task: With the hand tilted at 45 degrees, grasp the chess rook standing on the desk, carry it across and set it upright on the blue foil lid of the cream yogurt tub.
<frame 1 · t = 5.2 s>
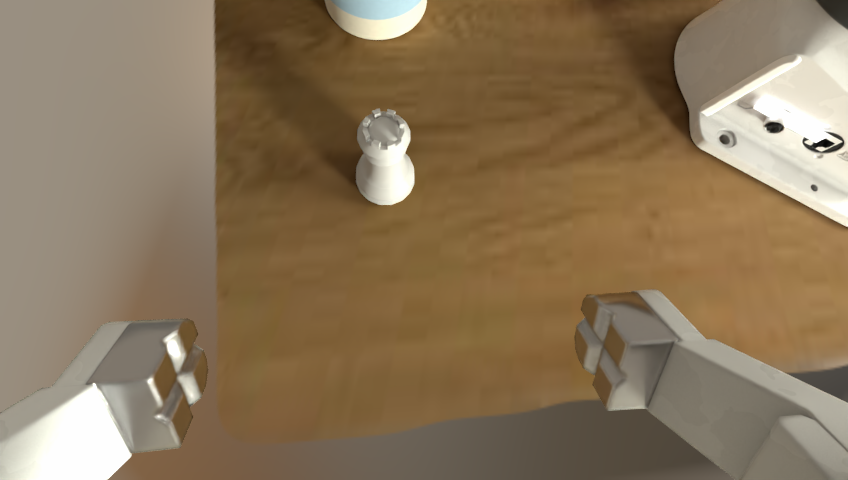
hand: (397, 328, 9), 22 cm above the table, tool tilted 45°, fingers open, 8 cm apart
rook chess piece: (385, 180, 33), on the table
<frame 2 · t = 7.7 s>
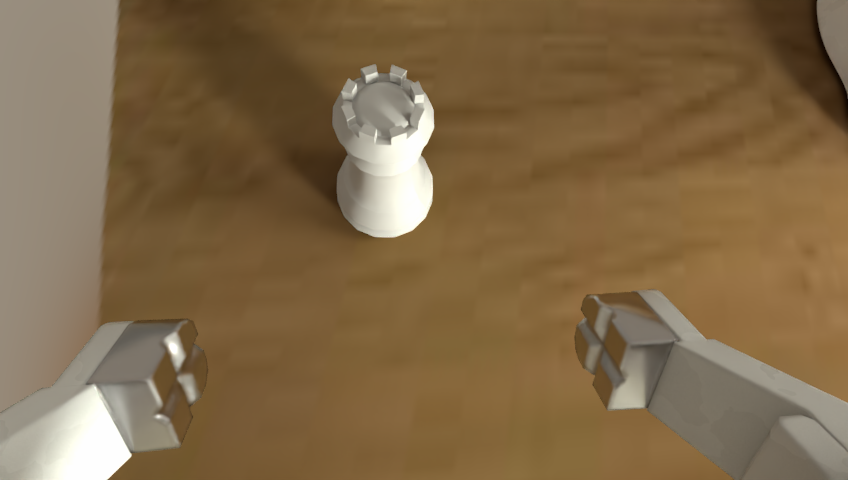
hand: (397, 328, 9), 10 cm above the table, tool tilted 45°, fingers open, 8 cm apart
rook chess piece: (385, 196, 21), on the table
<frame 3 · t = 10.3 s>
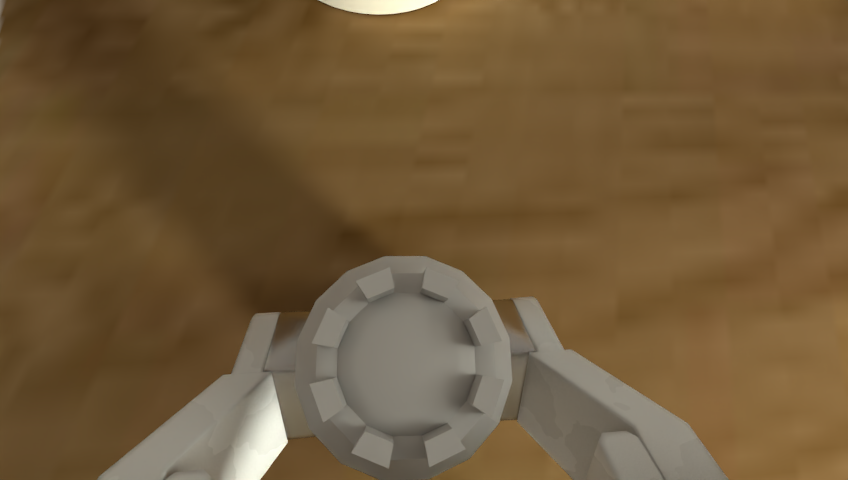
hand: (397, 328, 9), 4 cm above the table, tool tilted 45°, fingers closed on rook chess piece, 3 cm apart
rook chess piece: (396, 358, 13), on the table, touching gripper
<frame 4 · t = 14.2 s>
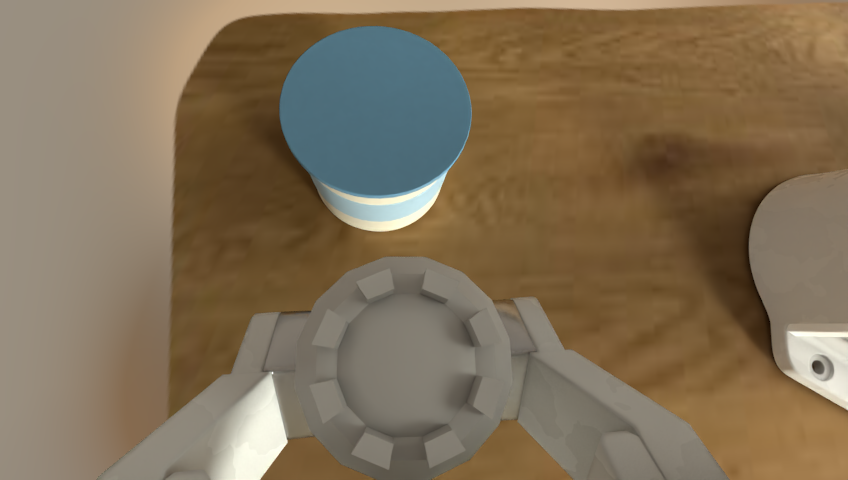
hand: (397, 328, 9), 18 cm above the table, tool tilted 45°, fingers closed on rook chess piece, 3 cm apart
rook chess piece: (396, 358, 13), point 14 cm above the table, touching gripper
yogurt tub: (379, 170, 30), on the table
when the fingers open (12 cm above the table, at t = 18.2 s): rook chess piece stays where it is, resting on yogurt tub.
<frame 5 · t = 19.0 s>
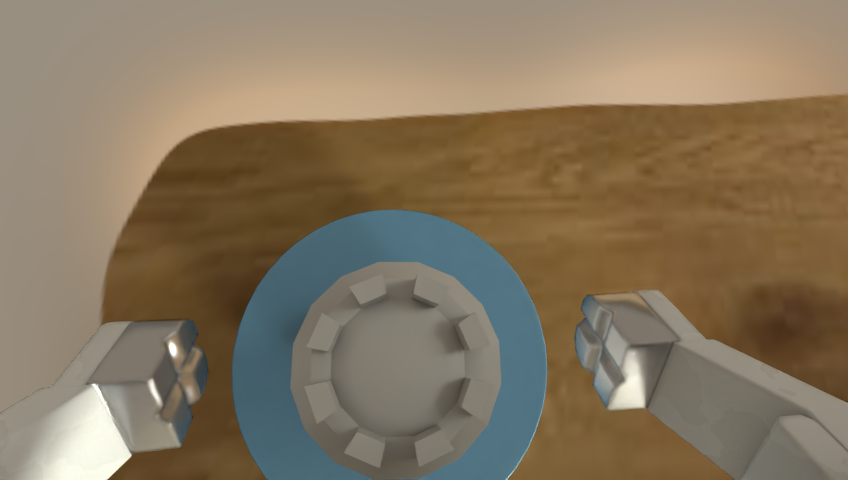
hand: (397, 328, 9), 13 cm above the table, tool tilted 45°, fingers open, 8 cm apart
rook chess piece: (392, 359, 14), point 8 cm above the table, touching yogurt tub
yogurt tub: (391, 356, 21), on the table, touching rook chess piece
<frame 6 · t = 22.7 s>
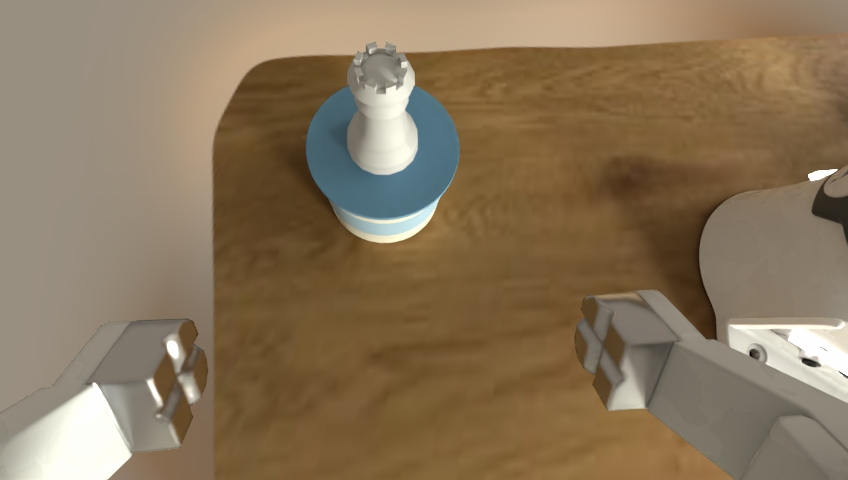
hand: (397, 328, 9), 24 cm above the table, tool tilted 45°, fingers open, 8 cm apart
rook chess piece: (382, 147, 28), point 8 cm above the table, touching yogurt tub
yogurt tub: (384, 191, 35), on the table, touching rook chess piece
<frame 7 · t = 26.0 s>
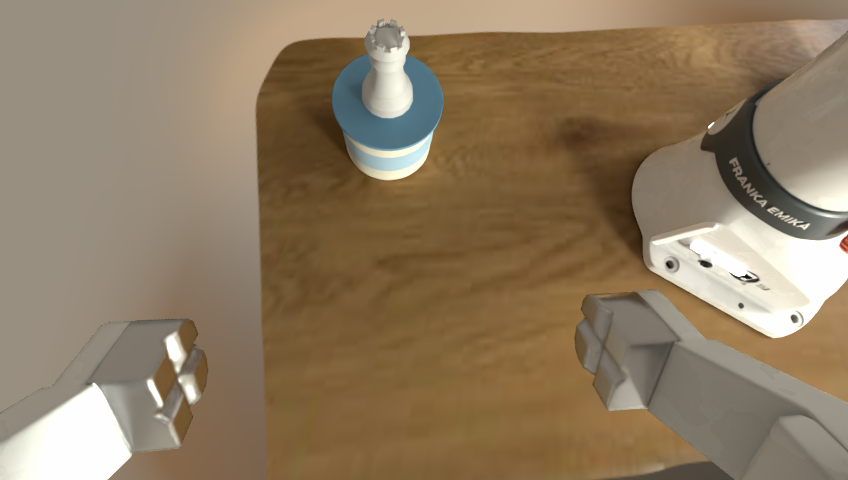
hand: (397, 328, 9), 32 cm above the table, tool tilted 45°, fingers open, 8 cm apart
rook chess piece: (387, 99, 38), point 8 cm above the table, touching yogurt tub
yogurt tub: (388, 141, 46), on the table, touching rook chess piece
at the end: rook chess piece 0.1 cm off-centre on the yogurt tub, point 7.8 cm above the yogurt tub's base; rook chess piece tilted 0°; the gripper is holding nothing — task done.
